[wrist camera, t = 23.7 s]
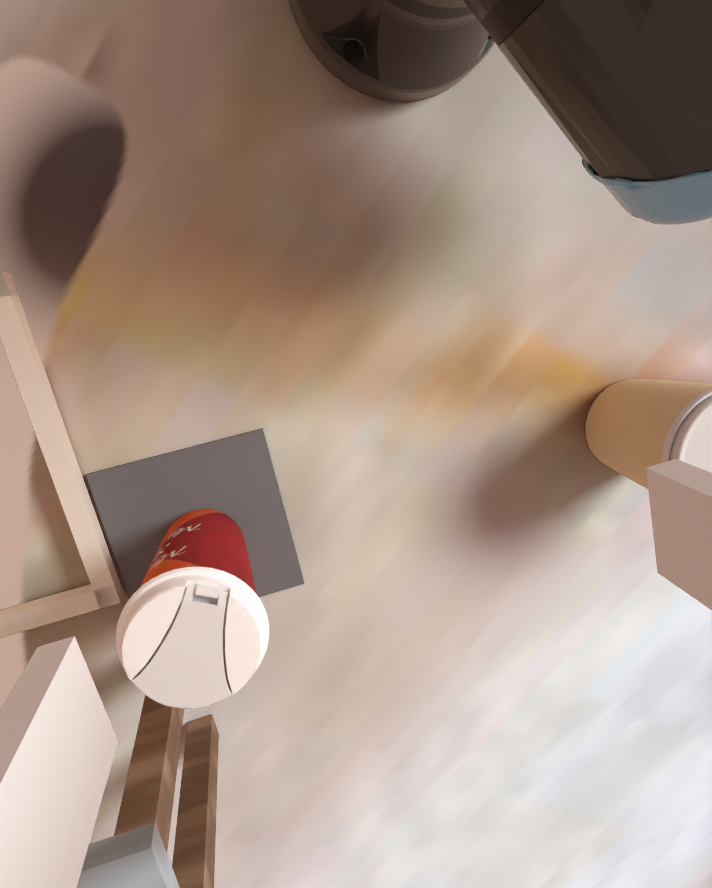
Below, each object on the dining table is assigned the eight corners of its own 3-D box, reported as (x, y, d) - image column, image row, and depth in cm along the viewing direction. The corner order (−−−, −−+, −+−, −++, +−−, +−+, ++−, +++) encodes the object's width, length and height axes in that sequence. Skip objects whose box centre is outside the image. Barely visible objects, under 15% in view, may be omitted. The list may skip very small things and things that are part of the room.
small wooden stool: (-70, 705, 46) (-294, 1000, 27) (183, 629, 49) (151, 847, 29) (-20, 811, 49) (-191, 1153, 29) (218, 734, 51) (210, 1000, 32)
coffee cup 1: (162, 483, 46) (129, 564, 31) (271, 506, 48) (287, 593, 33) (137, 586, 47) (95, 710, 33) (244, 605, 49) (249, 729, 35)
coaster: (86, 474, 45) (85, 475, 45) (262, 428, 47) (262, 429, 46) (141, 630, 48) (141, 632, 48) (303, 581, 50) (304, 583, 50)
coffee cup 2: (631, 496, 54) (739, 548, 43) (554, 440, 51) (646, 479, 40) (695, 407, 53) (822, 435, 42) (620, 346, 51) (734, 358, 39)
